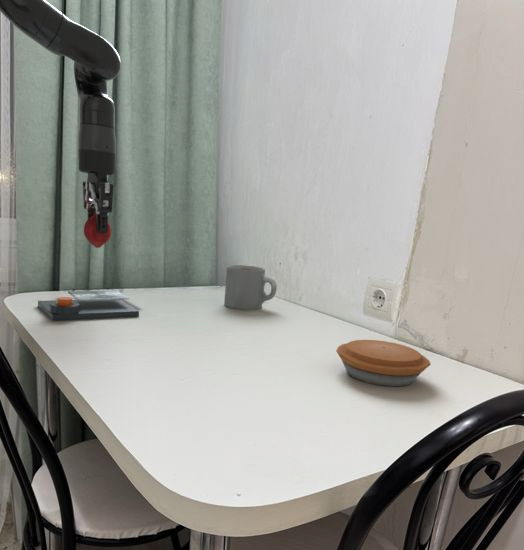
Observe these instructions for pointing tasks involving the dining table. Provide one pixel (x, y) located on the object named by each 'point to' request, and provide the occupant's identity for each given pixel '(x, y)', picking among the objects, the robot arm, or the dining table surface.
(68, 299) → the tare button
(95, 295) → the weighing plate
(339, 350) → the pie
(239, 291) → the coffee mug
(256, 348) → the dining table surface
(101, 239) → the onion
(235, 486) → the dining table surface
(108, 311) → the scale
